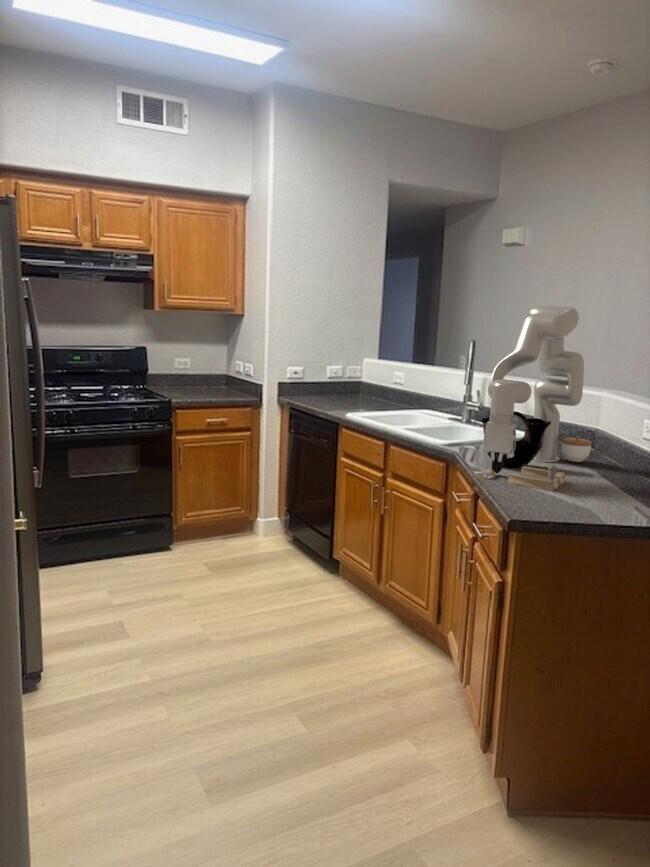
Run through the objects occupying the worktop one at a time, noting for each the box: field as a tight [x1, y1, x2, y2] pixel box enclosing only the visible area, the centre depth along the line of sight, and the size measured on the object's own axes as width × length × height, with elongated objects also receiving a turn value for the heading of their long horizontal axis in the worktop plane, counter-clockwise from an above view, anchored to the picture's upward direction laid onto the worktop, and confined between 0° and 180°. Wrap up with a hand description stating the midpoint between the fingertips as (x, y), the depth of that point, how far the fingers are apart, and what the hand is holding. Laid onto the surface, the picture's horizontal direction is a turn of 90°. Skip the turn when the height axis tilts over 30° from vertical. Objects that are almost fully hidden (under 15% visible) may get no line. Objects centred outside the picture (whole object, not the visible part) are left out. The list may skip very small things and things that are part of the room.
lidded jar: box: [561, 435, 593, 463], centre depth 250 cm, size 11×11×9 cm
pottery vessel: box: [480, 410, 551, 468], centre depth 236 cm, size 25×11×20 cm, turn 91°
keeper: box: [507, 464, 566, 492], centre depth 212 cm, size 18×14×8 cm
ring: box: [473, 469, 496, 479], centre depth 218 cm, size 7×3×8 cm
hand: (496, 472), depth 220 cm, fingers closed
